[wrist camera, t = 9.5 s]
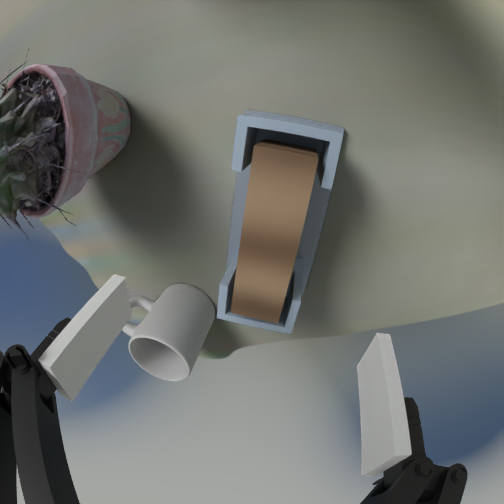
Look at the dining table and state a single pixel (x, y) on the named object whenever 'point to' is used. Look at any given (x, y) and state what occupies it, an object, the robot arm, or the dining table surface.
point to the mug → (171, 331)
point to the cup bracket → (328, 149)
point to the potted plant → (55, 137)
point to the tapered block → (272, 226)
